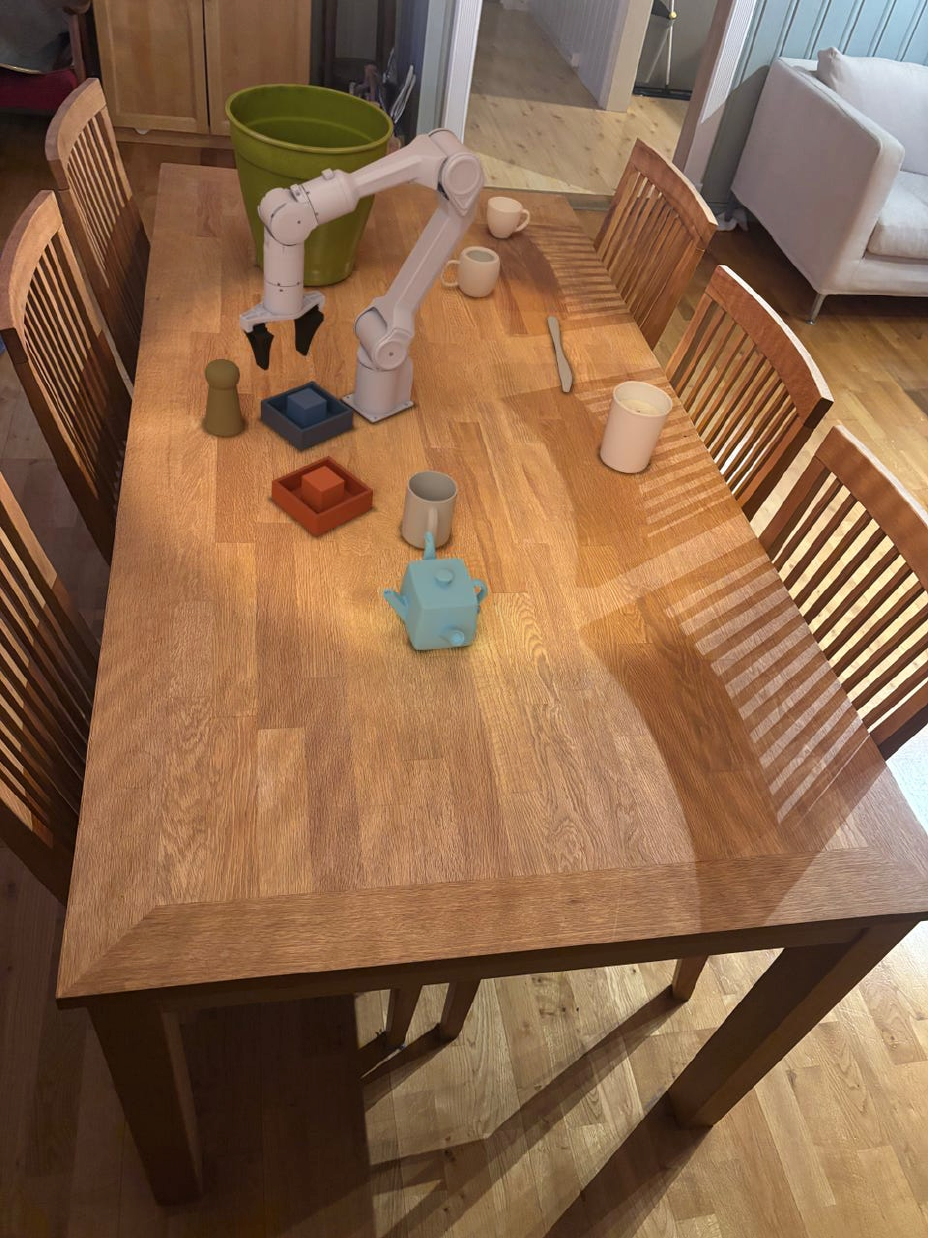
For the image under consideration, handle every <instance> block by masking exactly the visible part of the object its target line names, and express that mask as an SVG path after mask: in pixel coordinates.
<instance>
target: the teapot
mask: <svg viewBox="0 0 928 1238" xmlns="http://www.w3.org/2000/svg"><path fill="white" fill-rule="evenodd" d="M423 551H424V552H423V555H422V558H421V560H412V561H409V562H408V563H407V566H406V569H405V572H404V575H403V578H402V581H401V585H400V589H399V592H397V591H395V590H394V589H393V588H388V589H384V590H381V594H382V596H383V598H384V600H385V601H386V602H387V603H388V604H389V605H390V607H391V608H392V609H393V610H394V611H395V613H396V614H397V615H398V617H400V619H401V620H402V622H403V624H404V627H405V631H406V633H407V635H408V638H409V641H410V643H411V645H412V647H413V649H414V650H416V651H427V650H428V651H429V650H441V649H451V648H460V647H467V646H471V645H472V643H473V642H474V640H475V637H476V634H477V627H478V616H479V615H480V614H481V612H482V609H481V605H480V604H481V603H482V602H483V600H484V599H485V598H486V597H487V595H488V592H489V591H488V590H489V589H488V588H489V587H488V586H487V584H486V582H484V580H482V579H479V578H471V575H470V573H469V571H468V568H467V566H466V564H465V562H464V561H463V559H462V558H458V557H457V558H456V557H455V558H453V557H452V558H438V557H437V552H436V548H435V544H434V538H433V536H432V534H431V533H430V532H426V533H425V549H424V550H423ZM475 588H479V589H480V590H479V591H478V593H477V592H476V589H475Z"/></svg>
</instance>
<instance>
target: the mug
mask: <svg viewBox="0 0 928 1238" xmlns="http://www.w3.org/2000/svg"><path fill="white" fill-rule="evenodd" d="M458 256H459V257H458V259H457V260H455V259H449V261H448V262H447V264H446V266H445V267H444V269H443V270H442V272H441V274H440V275H439V281H440V283H441V284H442V286H444V287H447V288H453V287H455V286H458V288H459V289H460V291H461V292H462V293H463V294H464V295H466V296H469V297H472V298H484V297H487V296H488V295H489V294H490V293H491V292H493V290H494V288H495V286H496V285H497V282H498V279H499V276H500V275H499V274H500V271H501V270H500V269H501V260H500V256H499V254H498V253H497V252H495V251H494V250H493V249H490V248H487V247H485V246H478V245H477V246H476V245H475V246H474V245H473V246H468V247H465V248H463V249H462V251H461V252H460V253H459V255H458ZM453 264H454V265H456V280H457V281H454V282H450V283H449V282H446V280H445V279H444V273H445V270H446V268H447V267H448V266H449V265H453Z"/></svg>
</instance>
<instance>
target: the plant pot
mask: <svg viewBox="0 0 928 1238" xmlns="http://www.w3.org/2000/svg"><path fill="white" fill-rule="evenodd" d="M224 106H225V107H224V109H225V110H224V111H225V115H226V117H227V119H228V120H229V121H228V122H229V130H230V132H229V133H230V142H231V145H232V147H233V152H234V161H235V165H236V166H235V167H236V172H237V177H238V181H239V186H240V191H241V196H242V200H243V205H244V209H245V214H246V217H247V222H248V224H249V228H250V231H251V236H252V238H253V241H254V245H255V247H254V248H255V259H256V260H255V261H256V262H257V264H258V266H259V268H261V270H263V271H264V227H265V226H266V225H265V223H264V222H263V221H262V219H261V218H260V216H259V213H258V206H260V204H261V201H262V199H263V197H265V196H266V194H267V193H268V192H269V191H271V190H273V189H276V188H283V189H285V188H286V189H288V190H290V189H291V188H290V186H292V185H294V184H297V185H301V184H303V183H305V182H308V181H310V180H312V179H315V178H317V177H320V176H322V171H324V170H326V169H331V171H334V170H337V169H339V170H341V171H343V172H346V173H349V174H351V173H353V172H355V171H357V170H359V169H361V168H363V167H365V166H367V165H369V164H371V163H373V162H375V161H377V160H379V159H381V158H383V157H385V156H387V152H388V145H389V141H390V139H391V138H392V135H393V132H394V122H393V120H392V118H391V117H390V116H389V115H388V113H387V112H386V111H384V110H383V109H382V108H380V107H379V106H377V105H376V104H374V103H372V102H370V101H368V100H367V99H364V98H361V97H359V96H357V95H354V94H350V93H347V92H345V91H340V90H337V89H333V88H327V87H323V86H318V85H317V86H316V85H308V84H297V83H270V84H262V85H254V86H250V87H247V88H244V89H243V88H242V89H240V90H239V91H236V92H235V93H233V94H232V95H230V96H229V97H228V98H227V100H226V102H225V104H224ZM376 194H377V193H375V194H372V195H369V196H366V197H363V198H361V199H360V200H359V201H358V204H357V206H356V208H355V210H354V211H352V212H350V213H348V214H345V215H343V216H341V217H338V218H336V219H333V220H331V221H329V222H326V223H324V224H321V225H319V226H317V227H316V228H315V229H313V230H312V231H311V232H310V234H309V236H308V237H307V239H306V240H305V241H304V279H303V287H321V286H322V287H323V286H329V285H332V284H336V283H339V282H341V281H343V280H345V279H346V278H348V277H349V276H350V275H351V273H352V271H353V270H354V264H355V256H356V252H357V251H358V248H359V246H360V243H361V241H362V238H363V235H364V232H365V229H366V226H367V223H368V221H369V217H370V214H371V211H372V208H373V204H374V201H375V197H376Z"/></svg>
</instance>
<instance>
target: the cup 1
mask: <svg viewBox="0 0 928 1238" xmlns="http://www.w3.org/2000/svg"><path fill="white" fill-rule="evenodd" d="M405 489H406V490H405V497H404V502H403V503H404V505H403V511H402V519H401V526H400V527H401V528H400V531H401V535H402V536H403V538H404V540H405V541H406V542H407V543H408V544H409V545H411V546H413V547H415V548H418V549H422V550H425V533H426V532H430V533H431V534H432V536H433V538H434V544H435V549H438V548H439V547H442V546H443V545H445V544H446V543H447V542H448V540H449V538H450V535H451V531H452V526H453V525H452V524H453V520H454V519H453V518H454V513H455V508H456V503H457V499H458V498H457V496H458V490H459V487H458V484H457V482H456V481H455V479H453V478H452V477H451V476H449V475H448V474H446V473H443V472H441V471H437V470H429V469H428V470H426V469H425V470H420V471H417V472H414V473H412V474H411V475H410V476H409V477H408V479H407V482H406V488H405Z"/></svg>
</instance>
